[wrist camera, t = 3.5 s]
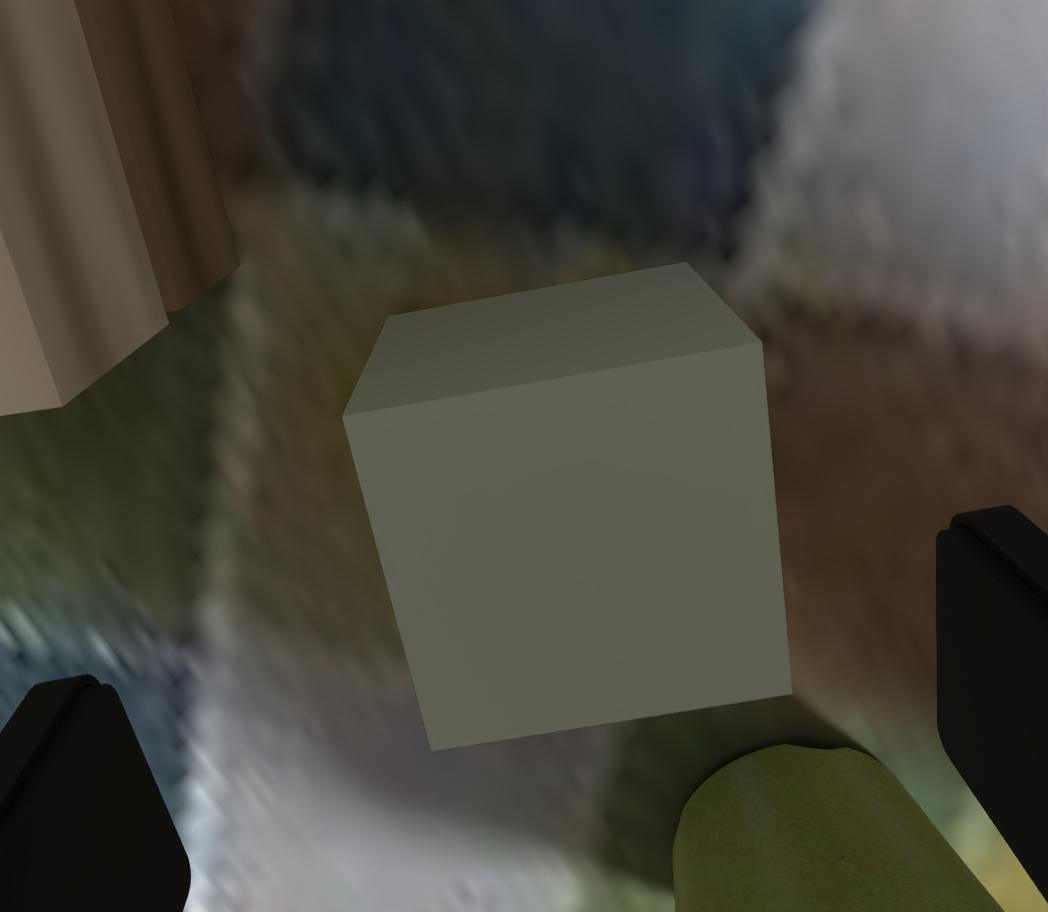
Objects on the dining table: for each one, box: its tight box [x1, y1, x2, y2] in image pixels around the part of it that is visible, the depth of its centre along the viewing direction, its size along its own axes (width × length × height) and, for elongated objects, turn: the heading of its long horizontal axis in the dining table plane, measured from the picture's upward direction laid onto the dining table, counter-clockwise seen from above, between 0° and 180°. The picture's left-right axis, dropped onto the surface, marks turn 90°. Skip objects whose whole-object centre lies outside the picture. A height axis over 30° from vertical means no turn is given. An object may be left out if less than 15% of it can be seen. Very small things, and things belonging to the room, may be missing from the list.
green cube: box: [342, 262, 792, 752], centre depth 17 cm, size 6×6×6 cm
